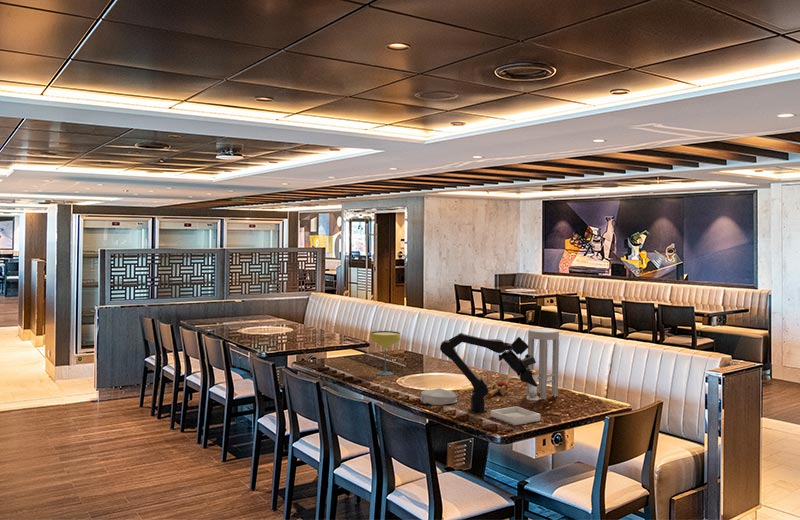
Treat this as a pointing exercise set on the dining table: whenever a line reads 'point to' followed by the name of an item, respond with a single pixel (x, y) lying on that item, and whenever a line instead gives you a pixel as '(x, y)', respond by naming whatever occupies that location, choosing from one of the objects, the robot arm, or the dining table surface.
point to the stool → (545, 359)
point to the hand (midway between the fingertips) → (536, 385)
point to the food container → (438, 397)
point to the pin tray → (515, 415)
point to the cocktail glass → (385, 343)
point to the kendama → (498, 389)
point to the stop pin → (533, 387)
